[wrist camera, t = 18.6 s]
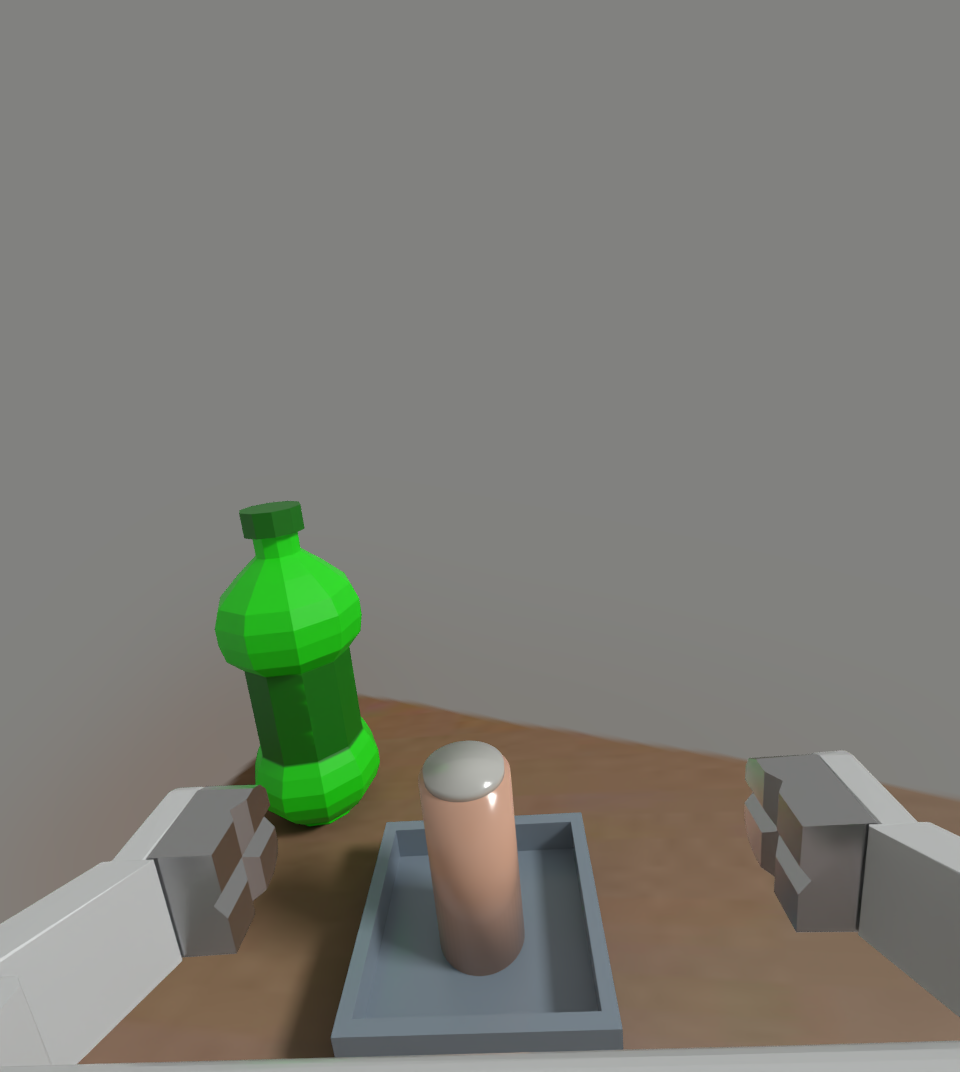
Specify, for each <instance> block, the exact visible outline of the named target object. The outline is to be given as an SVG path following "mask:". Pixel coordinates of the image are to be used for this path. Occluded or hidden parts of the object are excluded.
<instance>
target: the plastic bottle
mask: <svg viewBox="0 0 960 1072" xmlns="http://www.w3.org/2000/svg"><path fill="white" fill-rule="evenodd" d="M239 514H240V519H241V524H242V529H243V534H244V538H246V539H253V544H254V549H255V553H256V556H255V557H254V558H253V559H252V560H251V561H250V562H249V563H248V565H247V566H246V567H245V568H244V569H243V570H242V571H241V572H240V573H239V574H238V575H237V577H236V578H235V579H234V580H233V582H232V583H231V584H230V586H229V587H228V588H227V589H226V591H225V592H224V593H223V594H222V596H221V597H220V602H219V607H218V613H217V620H216V626H215V632H216V636H217V641H218V645H219V648H220V650H221V652H222V654H223V656H224V657H225V660H226V662H227V663H229V664H231V665H233V666H236V667H237V668H239V669H241V670H243V671H245V676H246V680H247V685H248V690H249V694H250V699H251V703H252V708H253V713H254V718H255V722H256V726H257V731H258V736H259V740H260V747H259V749H258V753H257V758H256V763H255V782H256V785H261V786H263V787H264V788H266V791H267V795H268V799H269V802H270V806H269V808H268V810H269V811H271V812H273V813H275V814H277V815H279V816H281V817H283V818H285V819H287V820H289V821H291V822H293V823H295V824H303V825H307V826H316V825H324V824H330V823H332V822H334V821H335V820H337V819H339V818H341V817H342V816H344V815H346V814H347V813H349V811H350V810H351V809H352V808H353V807H354V806H355V805H356V804H358V802H359V801H360V800H361V798H362V797H363V795H364V793H365V792H366V790H367V789H368V787H369V785H370V784H371V782H372V781H373V779H374V777H375V776H376V774H377V770H378V767H379V763H380V759H379V753H378V748H377V745H376V743H375V740H374V738H373V735H372V732H371V730H370V728H369V727H368V725H367V724H366V722H365V721H364V720H363V719H362V717H361V716H360V710H359V704H358V697H357V691H356V685H355V680H354V673H353V667H352V660H351V654H350V648H349V646H350V644H351V643H352V642H353V640H354V639H355V638H356V636H357V635H358V634H359V632H360V628H361V615H362V614H361V608H360V601H359V598H358V596H357V594H356V592H355V591H354V589H353V587H352V585H351V584H350V582H349V580H348V579H347V577H346V575H345V573H344V572H342V571H340V570H339V569H337V568H336V567H334V566H332V565H331V564H329V563H327V562H326V561H324V560H322V559H321V558H319V557H317V556H315V555H313V554H311V553H309V552H307V551H305V550H304V549H302V548H300V544H299V538H298V531H300V530H302V529H304V524H303V518H302V512H301V506H300V503H299V502H297V501H283V502H273V503H266V504H261V505H256V506H251V507H248V508H245V509H242V510H240V513H239Z"/></svg>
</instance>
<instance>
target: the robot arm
mask: <svg viewBox="0 0 960 1072" xmlns="http://www.w3.org/2000/svg"><path fill="white" fill-rule="evenodd" d="M745 780H746V782H747V783H748V785H749V787H750V788H751V790H752V791H753V793H752V794H751V796H750V797H749V798H748V799H747V801H746V802H745V825H746V830H747V835H748V840H749V843H750V845H751V848H752V851H753V853H754V855H755V857H756V859H757V861H758V863H759V865H760V867H761V868H763V869H764V870H766V871H767V872H769V873H770V874H771V875H773V876H774V877H775V884H774V892H775V894H776V896H777V898H778V900H779V902H780V903H781V905H782V907H783V909H784V911H785V912H786V914H787V916H788V918H789V920H790V921H791V923H792V925H793V927H794V929H795V931H796V932H859V933H858V935H859V936H860V937H862V938H863V939H864V940H865V941H866V942H868V943H869V944H870V945H871V946H873V947H874V948H875V949H876V950H878V951H879V952H880V953H881V954H882V955H884V956H885V957H886V958H887V959H889V960H890V961H891V962H892V963H894V964H895V965H896V966H897V967H898V968H900V969H901V970H902V971H903V972H905V973H906V974H907V975H908V976H909V977H911V978H912V979H913V980H914V981H916V982H917V983H918V984H919V985H921V986H922V987H923V988H924V989H925V990H927V991H928V992H929V993H930V994H932V995H933V996H934V997H935V998H937V999H938V1000H939V1001H940V1002H941V1003H943V1004H944V1005H945V1006H946V1007H948V1008H949V1009H950V1010H951V1011H952V1012H954V1013H955V1014H956V1015H957V1016H959V1017H960V837H959V836H957V835H955V834H953V833H951V832H949V831H947V830H945V829H943V828H940V827H938V826H936V825H934V824H932V823H930V822H917V821H916V820H915V819H914V818H913V817H912V815H911V814H910V813H909V812H908V811H907V810H906V809H905V808H904V807H903V806H902V805H901V804H900V803H899V802H898V801H897V800H896V799H895V798H894V797H893V796H892V795H891V794H890V793H889V792H888V791H887V790H886V789H885V788H884V787H883V786H882V785H881V784H880V783H879V782H878V781H877V780H876V779H875V777H874V776H873V775H872V774H871V773H870V772H868V770H867V769H866V768H865V767H864V766H863V765H862V764H861V763H860V762H859V761H858V760H857V759H856V758H855V757H854V756H853V755H852V754H850V753H849V752H846V751H844V750H841V751H830V752H819V753H812V754H808V755H807V754H806V755H790V756H774V757H756V758H749V759H748V761H747V764H746V774H745ZM269 806H270V802H269V799H268V795H267V791H266V788H264V787H263V786H261V785H233V786H206V787H188V788H187V787H186V788H177V789H174V790H172V791H170V792H169V793H168V794H167V795H166V796H165V798H164V799H163V800H162V801H161V802H160V804H159V805H158V806H157V807H156V808H155V810H154V811H153V812H152V813H151V815H150V816H149V817H148V818H147V819H146V821H145V822H144V823H143V824H142V825H141V827H140V828H139V829H138V830H137V831H136V833H135V834H134V835H133V836H132V837H131V839H130V840H129V841H128V842H127V844H126V845H125V846H124V847H123V848H122V850H121V851H120V852H119V853H118V854H117V856H116V857H115V858H114V859H113V860H112V861H111V862H101V863H100V864H98V865H96V866H95V867H93V868H92V869H90V870H88V871H87V872H85V873H83V874H82V875H80V876H78V877H77V878H75V879H74V880H72V881H70V882H69V883H67V884H66V885H64V886H62V887H60V888H59V889H57V890H55V891H54V892H52V893H51V894H49V895H47V896H46V897H44V898H42V899H41V900H39V901H37V902H36V903H34V904H32V905H31V906H29V907H28V908H26V909H24V910H23V911H21V912H19V913H18V914H16V915H14V916H13V917H11V918H10V919H8V920H6V921H5V922H3V923H1V924H0V1072H960V1041H932V1042H895V1043H859V1044H823V1045H785V1046H747V1047H708V1048H670V1049H632V1050H593V1051H556V1052H519V1053H482V1054H445V1055H409V1056H372V1057H335V1058H298V1059H261V1060H224V1061H187V1062H150V1063H113V1064H77V1063H78V1062H79V1061H80V1060H81V1059H82V1058H83V1057H84V1056H86V1055H87V1054H88V1053H89V1052H90V1051H91V1050H92V1049H93V1048H94V1047H95V1046H96V1045H97V1044H98V1043H99V1042H100V1041H101V1040H102V1039H103V1038H104V1037H105V1036H106V1035H107V1034H108V1033H109V1032H110V1031H111V1030H112V1029H113V1028H114V1027H115V1026H116V1025H117V1024H118V1023H119V1022H120V1021H121V1020H122V1019H123V1018H124V1017H125V1016H126V1015H127V1014H128V1013H129V1012H130V1011H131V1010H132V1009H133V1008H135V1007H136V1006H137V1005H138V1004H139V1003H140V1002H141V1001H142V1000H143V999H144V998H145V997H146V996H147V995H148V994H149V993H150V992H151V991H152V990H153V989H154V988H155V987H156V986H157V985H158V984H159V983H160V982H161V981H162V980H163V979H164V978H165V977H166V976H167V975H168V974H169V973H170V972H171V971H172V970H173V969H174V968H175V967H176V966H177V965H178V964H179V963H180V962H181V961H182V957H194V956H208V955H222V954H236V953H237V952H238V950H239V948H240V945H241V943H242V941H243V939H244V937H245V935H246V933H247V931H248V929H249V926H250V924H251V922H252V920H253V918H254V916H255V910H254V905H253V900H255V899H256V898H257V897H258V896H259V895H261V894H262V893H263V892H264V891H265V890H267V888H268V886H269V883H270V881H271V879H272V877H273V874H274V870H275V866H276V861H277V856H278V839H277V834H276V829H275V827H274V826H273V825H272V824H271V823H270V822H269V821H268V820H267V819H266V818H265V817H264V815H265V814H266V812H267V810H268V808H269Z"/></svg>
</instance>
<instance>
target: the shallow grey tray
mask: <svg viewBox="0 0 960 1072" xmlns="http://www.w3.org/2000/svg"><path fill="white" fill-rule="evenodd" d="M514 818H515V829H516V840H517V851H518V862H519V874H520V885H521V896H522V907H523V918H524V929H525V938H524V943H523V946H522V949H521V951H520V953H519V955H518V956H517V958H516V959H515V960H514V961H513V962H512V963H511V964H510V965H509V966H508V967H506V968H505V969H503V970H501V971H500V972H497V973H495V974H492V975H487V976H472V975H468V974H464V973H462V972H460V971H458V970H457V969H455V968H454V967H453V966H452V965H450V963H449V962H448V961H447V960H446V958H445V956H444V954H443V952H442V949H441V944H440V937H439V930H438V922H437V915H436V908H435V901H434V893H433V886H432V879H431V872H430V864H429V857H428V850H427V843H426V835H425V828H424V821H404V822H387V823H386V827H385V831H384V835H383V839H382V842H381V846H380V850H379V854H378V858H377V862H376V866H375V869H374V873H373V877H372V881H371V885H370V889H369V892H368V896H367V900H366V904H365V908H364V912H363V915H362V919H361V923H360V927H359V931H358V935H357V938H356V942H355V946H354V950H353V954H352V958H351V961H350V965H349V969H348V973H347V977H346V981H345V985H344V988H343V992H342V996H341V1000H340V1004H339V1008H338V1011H337V1015H336V1019H335V1023H334V1027H333V1031H332V1034H331V1042H332V1047H333V1051H334V1056H335V1057H372V1056H409V1055H445V1054H482V1053H519V1052H556V1051H593V1050H623V1030H622V1024H621V1019H620V1014H619V1008H618V1003H617V998H616V993H615V987H614V982H613V977H612V972H611V967H610V961H609V956H608V951H607V946H606V940H605V935H604V930H603V925H602V919H601V914H600V909H599V904H598V898H597V893H596V888H595V883H594V877H593V872H592V867H591V862H590V856H589V851H588V846H587V841H586V835H585V830H584V825H583V820H582V815H581V813H562V814H542V815H522V816H514Z"/></svg>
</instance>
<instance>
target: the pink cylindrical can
mask: <svg viewBox="0 0 960 1072" xmlns="http://www.w3.org/2000/svg"><path fill="white" fill-rule="evenodd" d="M418 785H419V792H420V799H421V806H422V814H423V821H424V828H425V835H426V843H427V850H428V857H429V864H430V872H431V879H432V886H433V893H434V901H435V908H436V915H437V922H438V930H439V937H440V944H441V949H442V952H443V954H444V956H445V958H446V960H447V961H448V962H449V963H450V965H452V966H453V967H454V968H455V969H457V970H458V971H460V972H462V973H464V974H468V975H472V976H487V975H492V974H495V973H497V972H500V971H501V970H503V969H505V968H506V967H508V966H509V965H510V964H511V963H512V962H513V961H514V960H515V959H516V958H517V956H518V955H519V953H520V951H521V949H522V946H523V943H524V938H525V929H524V918H523V907H522V896H521V885H520V874H519V862H518V851H517V840H516V829H515V818H514V807H513V796H512V784H511V773H510V766H509V763H508V761H507V760H506V759H505V757H504V756H503V755H502V754H501V753H500V752H499V751H498V750H497V749H496V748H494V747H493V746H491V745H489V744H486V743H483V742H478V741H460V742H455V743H451V744H448V745H445V746H443V747H441V748H439V749H438V750H436V751H435V752H433V753H432V754H431V755H430V756H429V757H428V758H427V760H426V761H425V763H424V766H423V767H422V769H421V771H420V773H419V776H418Z"/></svg>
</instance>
